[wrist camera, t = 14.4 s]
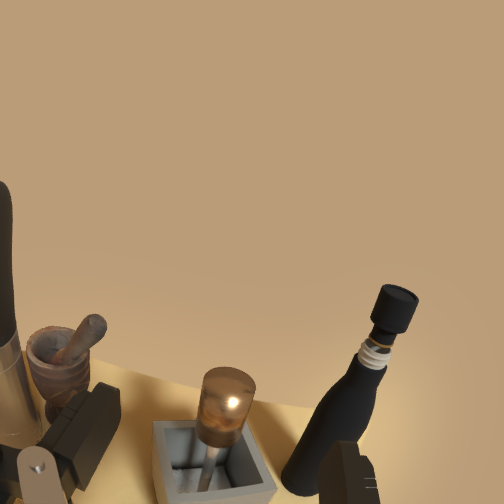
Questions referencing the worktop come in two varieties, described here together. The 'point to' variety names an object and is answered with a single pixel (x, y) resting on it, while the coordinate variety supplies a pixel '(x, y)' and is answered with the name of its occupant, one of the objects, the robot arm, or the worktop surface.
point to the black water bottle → (350, 392)
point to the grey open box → (192, 456)
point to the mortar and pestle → (63, 361)
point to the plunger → (217, 426)
